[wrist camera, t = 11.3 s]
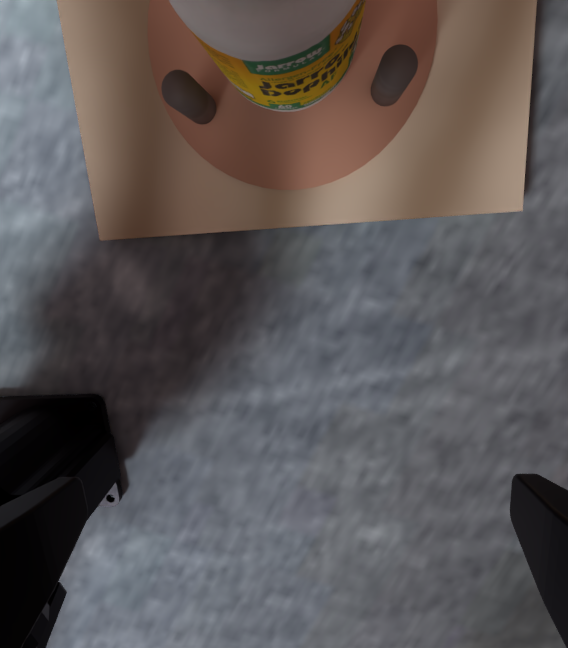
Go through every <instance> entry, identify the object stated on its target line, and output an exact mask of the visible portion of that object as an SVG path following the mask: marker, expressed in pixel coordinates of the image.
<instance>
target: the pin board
mask: <svg viewBox="0 0 568 648" xmlns="http://www.w3.org/2000/svg"><path fill="white" fill-rule="evenodd" d="M57 5H58V10H59V16H60V21H61V27H62V32H63V38H64V44H65V49H66V55H67V60H68V66H69V71H70V77H71V83H72V88H73V94H74V99H75V105H76V110H77V116H78V122H79V127H80V133H81V138H82V144H83V149H84V155H85V161H86V166H87V172H88V177H89V183H90V188H91V194H92V200H93V205H94V211H95V216H96V222H97V228H98V233H99V239H100V241H102V240H117V239H131V238H145V237H159V236H173V235H188V234H202V233H216V232H230V231H244V230H259V229H273V228H287V227H301V226H315V225H330V224H344V223H358V222H372V221H386V220H401V219H415V218H429V217H443V216H457V215H472V214H486V213H500V212H514V211H523V196H524V181H525V167H526V152H527V138H528V123H529V109H530V94H531V79H532V65H533V50H534V36H535V21H536V6H537V0H366V3H365V8H364V13H363V18H362V23H361V29H360V33H359V38H358V42H357V46H356V50H355V53H354V56H353V59H352V62H351V64H350V67H349V69H348V71H347V73H346V75H345V76H344V78H343V79H342V81H341V82H340V84H339V85H338V86H337V87H336V88H335V89H334V90H333V91H332V93H331V94H329V95H328V96H327V97H326V98H324V99H323V100H322V101H320V102H318V103H317V104H315V105H313V106H311V107H309V108H306V109H303V110H300V111H294V112H281V111H273V110H270V109H266V108H263V107H260V106H258V105H256V104H254V103H253V102H251V101H249V100H248V99H246V98H245V97H244V96H243V95H242V94H240V93H239V91H238V90H237V89H236V88H235V87H234V86H233V85H232V83H231V82H230V81H229V80H228V78H227V77H226V76H225V75H224V74H223V72H222V71H221V70H220V68H219V67H218V66H217V65H216V63H215V62H214V61H213V59H212V58H211V57H210V55H209V54H208V53H207V51H206V50H205V49H204V48H203V46H202V45H201V44H200V42H199V41H198V40H197V39H196V37H195V36H194V35H193V33H192V32H191V31H190V30H189V29H188V27H187V26H186V25H185V23H184V22H183V21H182V19H181V18H180V17H179V15H178V14H177V13H176V11H175V10H174V8H173V7H172V5H171V4H170V2H169V0H57Z"/></svg>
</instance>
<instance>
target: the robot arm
mask: <svg viewBox="0 0 568 648" xmlns="http://www.w3.org/2000/svg"><path fill="white" fill-rule="evenodd" d="M91 402H94V403H95V404H96V407H94V406H92V404H91ZM120 476H121V474H120V469H119V464H118V458H117V453H116V448H115V443H114V438H113V435H112V434H111V432H110V427H109V422H108V417H107V412H106V407H105V402H104V400H103V398H102V397H101V396H99V395H97V394H77V395H44V396H10V397H0V648H46V645H47V642H48V640H49V637H50V635H51V632H52V629H53V627H54V624H55V622H56V619H57V617H58V614H59V611H60V609H61V606H62V604H63V601H64V598H65V596H66V593H67V591H66V590H65V589H64V587H63V586H62V585H61V583H60V582H58V581H59V579H60V577H61V575H62V573H63V570H64V568H65V566H66V564H67V562H68V560H69V557H70V555H71V553H72V551H73V549H74V547H75V544H76V542H77V540H78V538H79V536H80V534H81V532H82V529H83V527H84V525H85V523H86V521H87V520H88V518H89V517H90V516H91V514H92V513H93V512H94V510H95V509H96V508H97V506H116V505H117V504H118V503H119V501H120V500H121V498H122V489H121V484H120V479H119V478H120ZM110 495H113V496H114V498H113V497H111V496H110ZM510 516H511V521H512V524H513V527H514V529H515V532H516V534H517V537H518V539H519V542H520V544H521V547H522V549H523V552H524V555H525V557H526V560H527V562H528V565H529V567H530V570H531V572H532V575H533V577H534V580H535V582H536V585H537V588H538V590H539V592H540V595H541V597H542V600H543V602H544V604H545V606H546V608H547V610H548V612H549V614H550V616H551V618H552V620H553V622H554V624H555V626H556V628H557V630H558V632H559V634H560V636H561V638H562V640H563V642H564V644H565V645H566V647H567V648H568V490H566V489H564V488H562V487H560V486H559V485H557V484H555V483H553V482H551V481H549V480H547V479H546V478H544V477H542V476H540V475H538V474H516V475H515V476H514V477H513V480H512V489H511V502H510Z"/></svg>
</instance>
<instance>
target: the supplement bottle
mask: <svg viewBox="0 0 568 648" xmlns="http://www.w3.org/2000/svg"><path fill="white" fill-rule="evenodd" d="M169 2H170V4H171V5H172V7H173V8H174V10H175V11H176V13H177V14H178V15H179V17H180V18H181V19H182V21H183V22H184V23H185V25H186V26H187V27H188V29H189V30H190V31H191V32H192V33H193V35H194V36H195V37H196V39H197V40H198V41H199V42H200V44H201V45H202V46H203V48H204V49H205V50H206V51H207V53H208V54H209V55H210V57H211V58H212V59H213V61H214V62H215V63H216V65H217V66H218V67H219V68H220V70H221V71H222V72H223V74H224V75H225V76H226V77H227V78H228V80H229V81H230V82H231V83H232V85H233V86H234V87H235V88H236V89H237V90H238V91H239V93H240V94H242V95H243V96H244V97H245V98H246V99H248V100H249V101H251V102H253V103H254V104H256V105H258V106H260V107H263V108H266V109H270V110H273V111H281V112H294V111H300V110H303V109H306V108H309V107H311V106H313V105H315V104H317V103H318V102H320V101H322V100H323V99H324V98H326V97H327V96H328V95H329V94H331V93H332V91H333V90H334V89H335V88H336V87H337V86H338V85H339V84H340V82H341V81H342V79H343V78H344V76H345V75H346V73H347V71H348V69H349V67H350V64H351V62H352V59H353V56H354V53H355V50H356V46H357V42H358V38H359V33H360V29H361V23H362V18H363V13H364V8H365V3H366V0H169Z"/></svg>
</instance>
